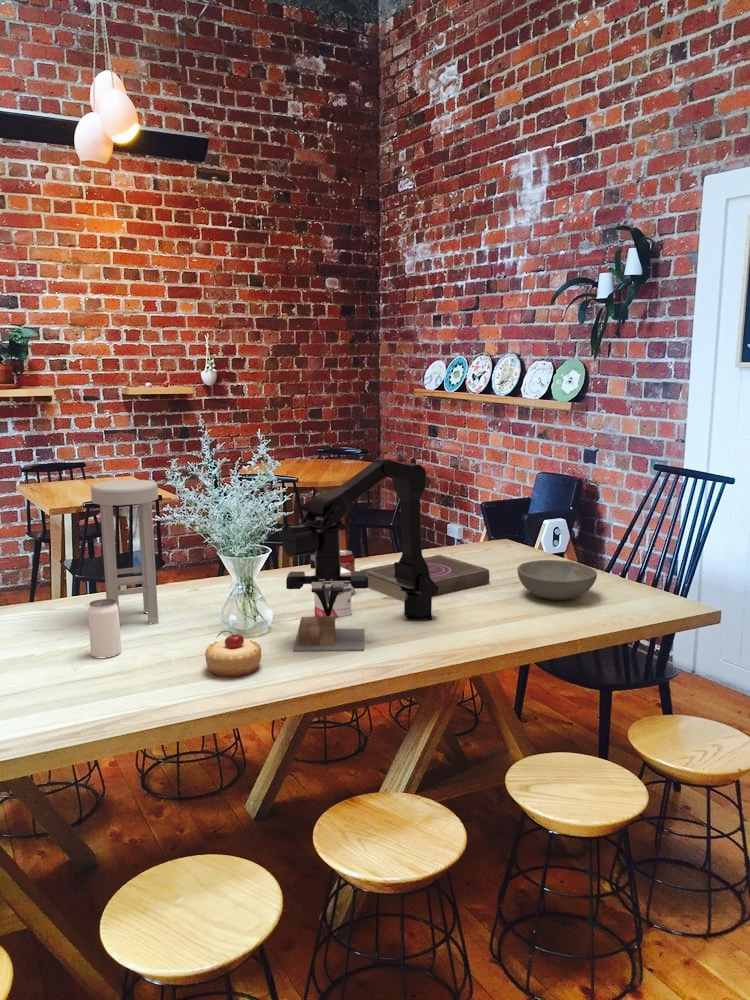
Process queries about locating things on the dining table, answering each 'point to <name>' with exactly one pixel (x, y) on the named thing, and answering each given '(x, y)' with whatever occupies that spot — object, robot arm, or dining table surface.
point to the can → (104, 628)
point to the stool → (143, 496)
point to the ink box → (341, 603)
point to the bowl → (556, 578)
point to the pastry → (233, 656)
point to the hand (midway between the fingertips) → (328, 615)
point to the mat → (338, 642)
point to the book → (431, 576)
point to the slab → (317, 631)
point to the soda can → (347, 562)
